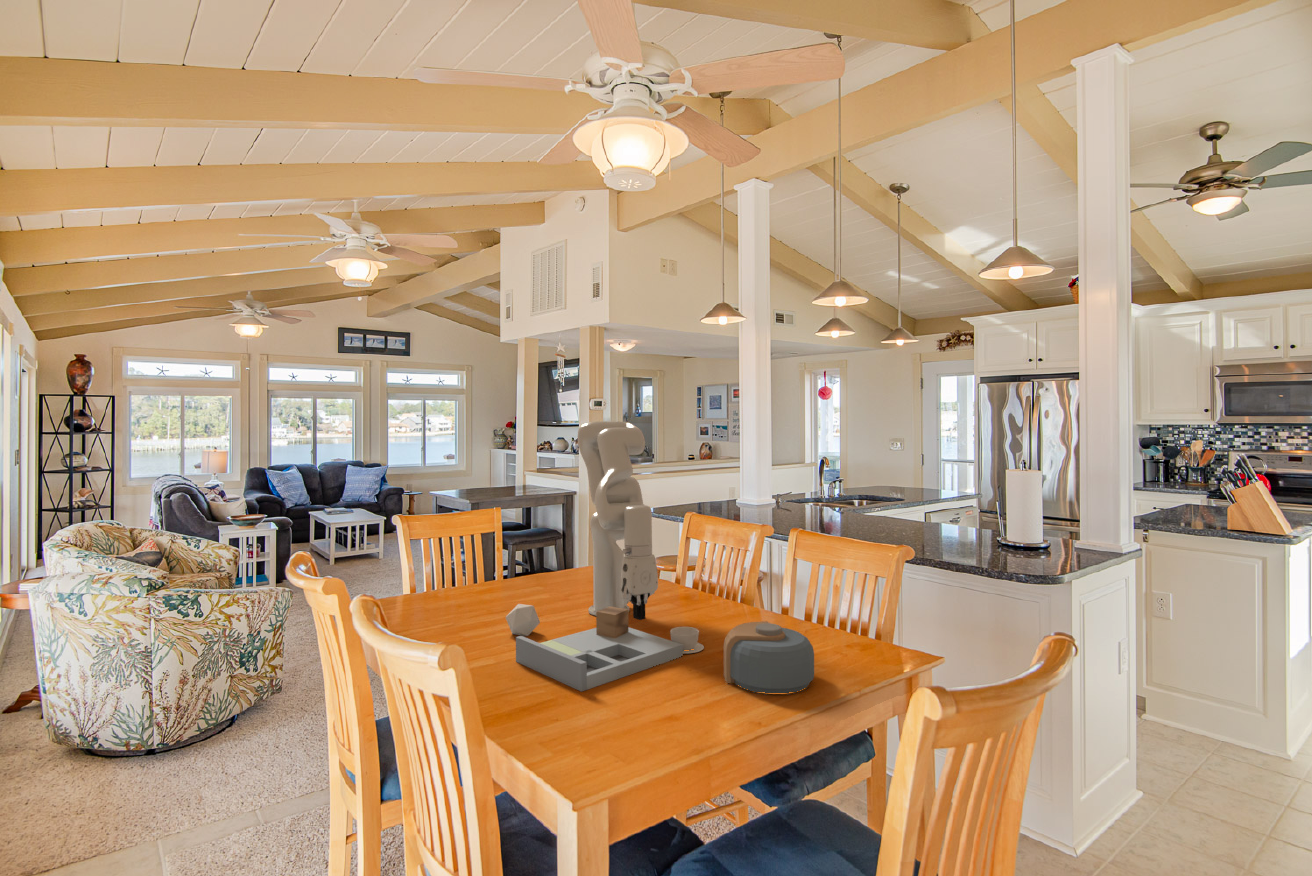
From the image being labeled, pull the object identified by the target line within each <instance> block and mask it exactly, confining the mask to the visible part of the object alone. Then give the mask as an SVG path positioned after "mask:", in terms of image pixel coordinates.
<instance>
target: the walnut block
mask: <svg viewBox="0 0 1312 876" xmlns="http://www.w3.org/2000/svg"><path fill="white" fill-rule="evenodd" d="M595 617H596V619H595V620H596V621H595V622H596V624H595V626H596V627H595V628H596V635H601V636H606V637H612V638H617V637H619V636H621V635H623V634H625V633H628V627H629V612H628V609H623V608H617V607H611V606H609V607H607V608H604V609H602V610H599V611H597V612H596V616H595Z"/></svg>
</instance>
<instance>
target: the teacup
mask: <svg viewBox="0 0 1312 876" xmlns="http://www.w3.org/2000/svg"><path fill="white" fill-rule="evenodd" d="M669 633H670V638H671V639H670V641H673V642H676V643H680V644H683V654H693V653H695V654H696V653H698V652H701V651H702V650H704V649H705V647H704V645H703V644H702V643H700V642H698V641H699V635H700V630H699V628H696V627H691V626H676V627H673V628H670V630H669ZM691 649H694V650H691ZM684 650H689V651H684Z"/></svg>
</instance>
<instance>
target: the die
mask: <svg viewBox="0 0 1312 876" xmlns="http://www.w3.org/2000/svg"><path fill="white" fill-rule="evenodd" d="M505 620H506V622H507V624H508V628H509V630H510V632H511V634H512V635H517V636H523V637H528V636H530V634H531V633H532V632H534V630H535V629H536V628H537V627H538V626H539V624H540V623H541V622H540V621H541V620H540V618H539V615H538V613H537V611H536V608H535V606H534V605H532V604H523V603H518V604H517V605H515V607H514V608H513V609H512V610H510V612H509V613H508V614H507V615H506V616H505Z"/></svg>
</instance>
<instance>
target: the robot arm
mask: <svg viewBox="0 0 1312 876" xmlns="http://www.w3.org/2000/svg"><path fill="white" fill-rule="evenodd" d="M577 445H578V449H579V452H580V454H581V458H582V459H583V460H582V461H583V462H584V464H585V468H586V471H587V477H588V478H587V479H588V485H589V492H590V493H589V494H590V497H591V498H590V499H591V502H592V503H593V505H594V506H595V510H596V512H594V513H593V514H592V515H591V517H590V519H589V527H590V534H591V542H592V552H593V553H592V558H593V559H592V560H593V561H592V562H593V567H592V568H593V570H592V571H593V572H592V573H593V576H592V577H593V579H592V580H593V605H590V606H589V608H588V613H589V614H590V615H592V616H595V617H596V612H597V611H599V610H602V609H604V608H607V607H609V606H611V607H617V608H623V609H628V613H629V612H630V606H628V604H629V603H631V605H632V616H633V619H634V620H639V621H642V620H645V619H646V604H647V603H648V600H649V598H650V596H652V595H654V594H655V592H656V591H657V590H658V589H659V578H658V577H659V575H658V565H657V561H656V556H655V554H653V525H652V524H653V523H652V522H653V521H652V520H653V517H652V516H653V514H652V513H653V512H652V511H653V510H652V509H651V507H650V506H649V505H645V504H644V502H643V501H644V500H643V496H642V495H643V494H642V491H641V490H642V489H641V486H640V483H639V481H638V480H637V478H635V477H633V476H632V475H633V472H634V470H633V466H632V461H631V458H630V456H632V455H633V456H635V455H636V456H637V455H639V456H640V455H641V454H642V453H644V450H645V447H646V440H645V437H644V434H643V431H642V430H641V429H640V428H639V427H638V426H636V425H635V424H634V423H633V424H632V423H631V422H629V421H608V420H607V421H600V420H599V421H589V422H585V423H583V424H582V425H580V426H579V428H578V430H577ZM621 540H622V541H623V540H624V548H623V549H622V548H621V547H620V546H619V544H618V543H617V541H621Z"/></svg>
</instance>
